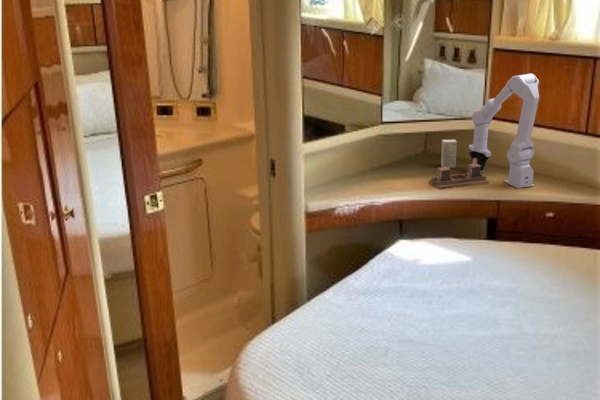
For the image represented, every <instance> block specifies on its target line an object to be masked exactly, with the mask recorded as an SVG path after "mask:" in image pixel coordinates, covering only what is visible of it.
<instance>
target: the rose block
mask: <svg viewBox="0 0 600 400" xmlns="http://www.w3.org/2000/svg"><path fill="white" fill-rule="evenodd" d="M471 164H478V160H477V158H473V163H472V162H471ZM484 172H485V168H484V169H483V170H480V174H482V173H484Z"/></svg>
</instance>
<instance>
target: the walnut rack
mask: <svg viewBox="0 0 600 400" xmlns="http://www.w3.org/2000/svg"><path fill="white" fill-rule="evenodd" d="M480 166H481V165H479V164H472V163H470V164H467V173H461V174H452V175H451V168H448V167H442V166H440V167H437V173H436V174H437V176H435V177H431V178H430V179H429V180H428V183H429V184H430V185H432V186H433V187H436V188H437V189H439V190H447V188H448V189H455V188H454V187H456V188H462V187H463V188H464V187H471V186H472V187H473V186H479V184H481V185H488V184H489V180H487V176H485V175H484V174H483V173H480Z"/></svg>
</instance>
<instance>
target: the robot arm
mask: <svg viewBox="0 0 600 400" xmlns="http://www.w3.org/2000/svg"><path fill="white" fill-rule="evenodd" d="M539 83H540V81H539V79H538V78H537V76H536V75H535V74H534V73H530V72H529V73H527V74H519V75H518V74H517V75H513V76H511V77H510V79H508V80H507V81H506V84H505V86H504V87H503V88H502V89H501V91H500V92H499V93H498V94H497V95H495V96H496V97H494V98H490V99H487V100H486V103H485V104H484V105H483V106H482V107H481V108H480V109H479V110H477V111H474V113H473V114H472V116H471V117H472V118H471V120H472V123H473V124H474V129H473V142H472V144H469V145H468V150H470V151H469V153H468V154H469V156H470V158H471V161H472V162H471V164H472V163H473V158H477V160H478V164H479V165H481V166H480V170H483V169H484V170H485V166H486V163H487V161H488V160H489V158H490V157H492V152H491V151H490V150H489V149H488V138H489V128H490V125H491V123H492V121H493V117H494V116H495V115H496V114H497V113H498V112H499V111H500V110H501V109H502V104H503V103H504V102H506V100H507V99H508V98H509V97H511V95H513V94H515V95H517V97H519V98H520V99H521V100H522V106H521V111H520V116H519V121H518V126H517V130H516V131H517V132H516V138H515V139H514V140H513V142H511V144H510V147H509V148H508V150H507V153H506V158H507V161H508V163H509V171H508V173H509V174H508V179H504V180H503V182H504V183H505V184H508V185H511V186H512V187H515V188H517V189H519V188H527V187H534V186H535V184H533V181H534V169H533V167H532V166H530V163H531V160H532V159H533V157H534V156H535V150H534V146H535V144H534V142H533V141H532V140H531V139H532V134H533V130H534V126H535V125H534V124H535V122H536V121H535V120H536V115H537V110H538V105H539V101H540V92H539Z"/></svg>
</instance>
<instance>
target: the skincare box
mask: <svg viewBox="0 0 600 400" xmlns="http://www.w3.org/2000/svg"><path fill="white" fill-rule="evenodd" d="M457 143H458V141H457V140H456V139H441V156H440V157H441V158H440V167H448V168H450V169H451V168H452V169H453V168H456V166H457V165H456V164H457V147H458V145H457Z"/></svg>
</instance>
